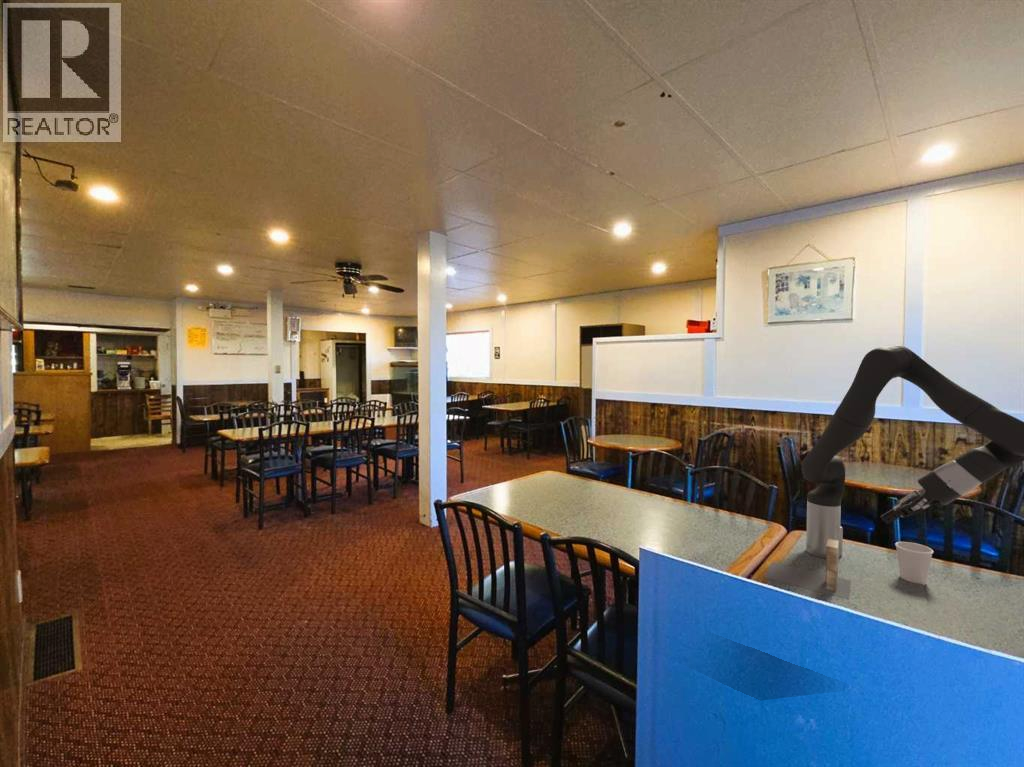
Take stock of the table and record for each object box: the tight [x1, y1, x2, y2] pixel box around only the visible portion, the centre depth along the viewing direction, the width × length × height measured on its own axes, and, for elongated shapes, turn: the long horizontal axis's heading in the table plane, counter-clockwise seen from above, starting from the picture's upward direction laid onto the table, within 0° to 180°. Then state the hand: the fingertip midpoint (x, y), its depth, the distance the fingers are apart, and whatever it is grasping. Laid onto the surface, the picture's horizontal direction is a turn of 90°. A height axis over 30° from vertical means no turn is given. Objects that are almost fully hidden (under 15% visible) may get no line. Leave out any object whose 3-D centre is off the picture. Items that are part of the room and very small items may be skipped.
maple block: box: [825, 539, 839, 591], centre depth 126 cm, size 2×7×12 cm, turn 141°
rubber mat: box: [763, 561, 852, 600], centre depth 130 cm, size 20×14×1 cm
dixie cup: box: [894, 541, 934, 586], centre depth 130 cm, size 8×8×10 cm
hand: (883, 520), depth 118 cm, fingers closed
